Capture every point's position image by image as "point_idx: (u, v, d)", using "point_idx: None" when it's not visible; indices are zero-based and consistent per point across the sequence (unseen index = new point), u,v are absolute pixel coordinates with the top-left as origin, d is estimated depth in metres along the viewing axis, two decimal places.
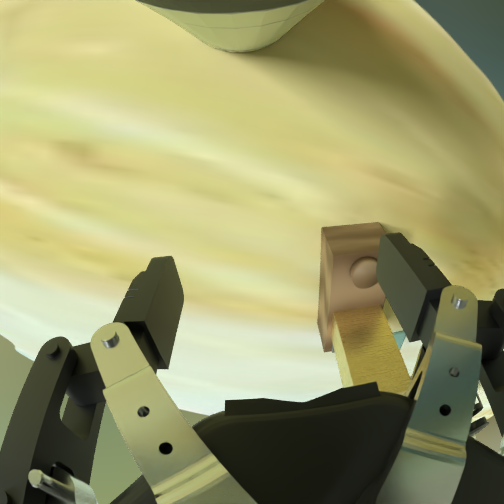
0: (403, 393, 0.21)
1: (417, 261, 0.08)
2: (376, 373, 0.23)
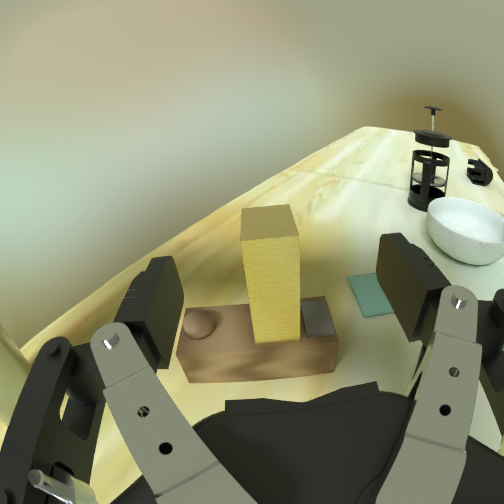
0: (247, 212, 0.24)
1: (417, 261, 0.08)
2: None
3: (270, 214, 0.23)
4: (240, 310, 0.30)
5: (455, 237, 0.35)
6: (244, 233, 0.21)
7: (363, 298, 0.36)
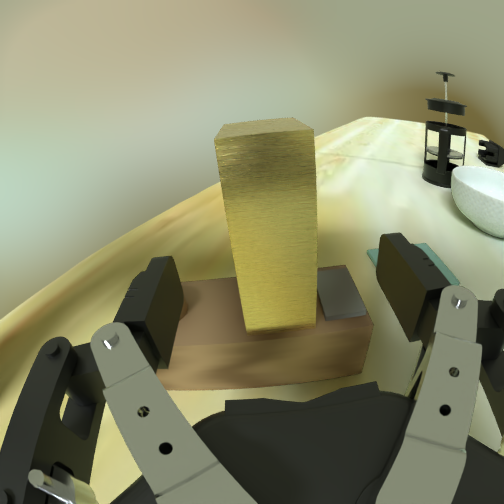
0: (231, 125, 0.15)
1: (417, 261, 0.08)
2: None
3: (265, 122, 0.14)
4: (226, 285, 0.21)
5: (489, 202, 0.26)
6: (223, 134, 0.12)
7: None
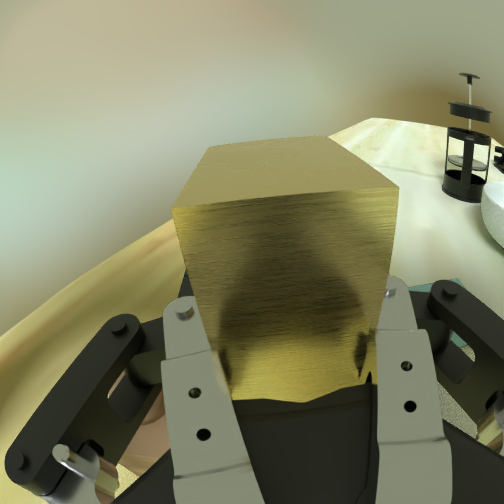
0: (221, 150, 0.09)
1: None
2: None
3: (282, 148, 0.08)
4: None
5: None
6: (196, 185, 0.06)
7: None
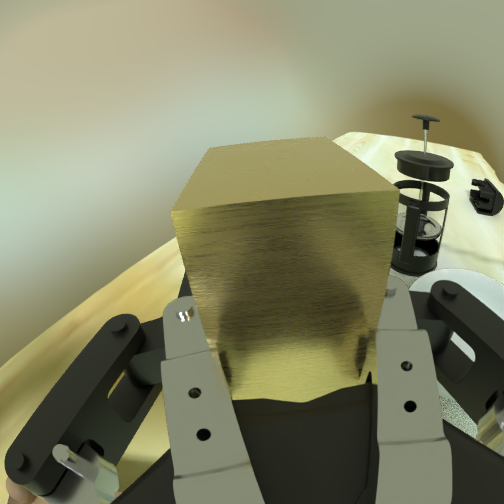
0: (220, 151, 0.09)
1: None
2: None
3: (282, 150, 0.08)
4: None
5: None
6: (196, 187, 0.06)
7: None
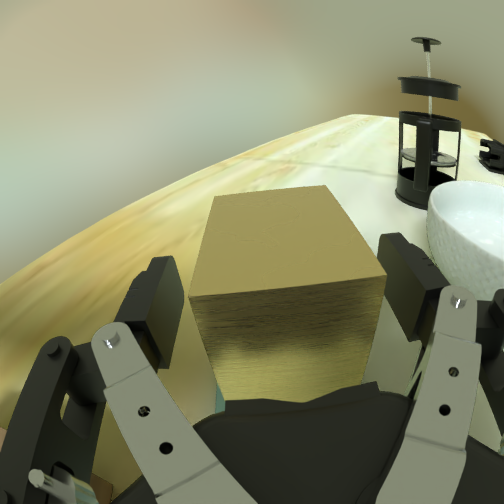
0: (226, 204, 0.10)
1: (416, 261, 0.08)
2: None
3: (284, 208, 0.09)
4: None
5: (495, 271, 0.13)
6: (208, 264, 0.07)
7: None
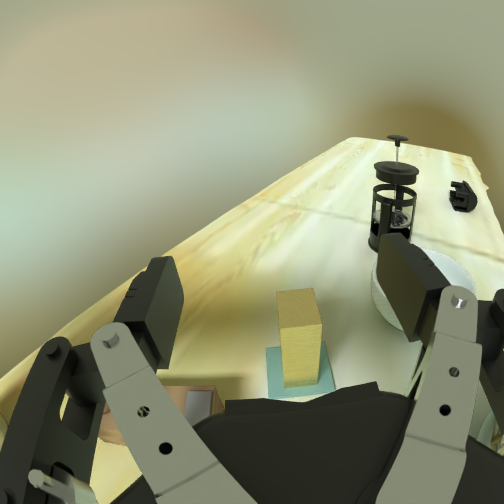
0: (281, 297, 0.31)
1: (417, 261, 0.08)
2: None
3: (299, 300, 0.30)
4: None
5: None
6: (282, 320, 0.28)
7: (273, 377, 0.34)
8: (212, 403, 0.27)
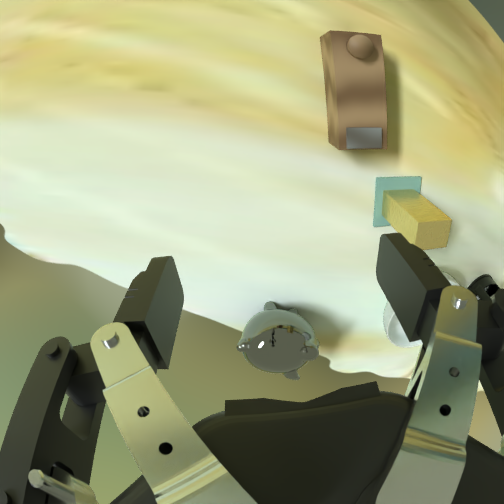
0: (446, 223, 0.31)
1: (417, 261, 0.08)
2: (424, 212, 0.33)
3: (438, 236, 0.32)
4: (378, 79, 0.28)
5: None
6: (425, 224, 0.31)
7: (394, 182, 0.40)
8: (370, 148, 0.33)
